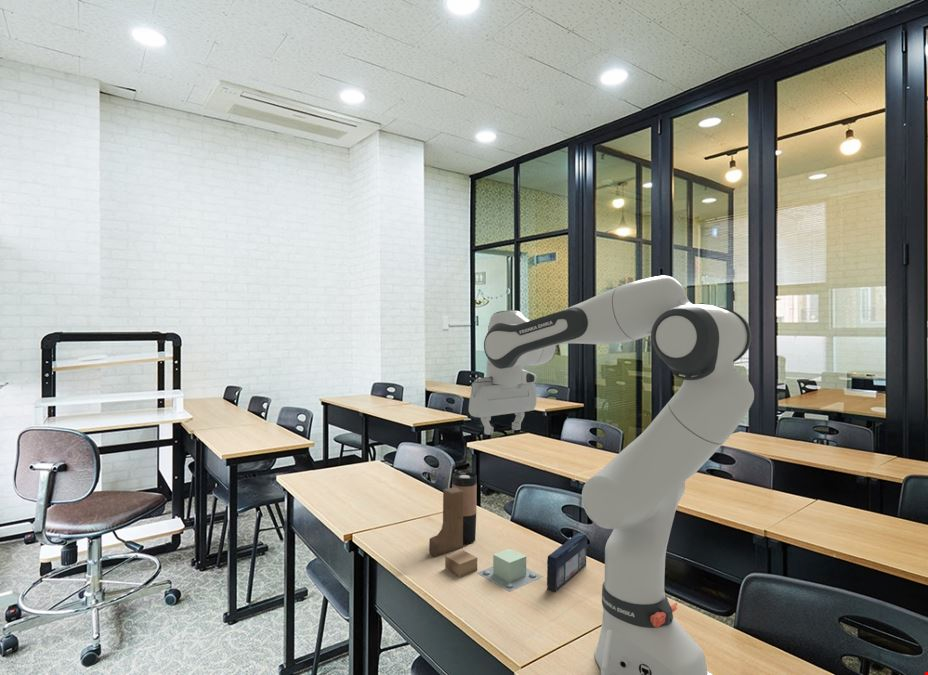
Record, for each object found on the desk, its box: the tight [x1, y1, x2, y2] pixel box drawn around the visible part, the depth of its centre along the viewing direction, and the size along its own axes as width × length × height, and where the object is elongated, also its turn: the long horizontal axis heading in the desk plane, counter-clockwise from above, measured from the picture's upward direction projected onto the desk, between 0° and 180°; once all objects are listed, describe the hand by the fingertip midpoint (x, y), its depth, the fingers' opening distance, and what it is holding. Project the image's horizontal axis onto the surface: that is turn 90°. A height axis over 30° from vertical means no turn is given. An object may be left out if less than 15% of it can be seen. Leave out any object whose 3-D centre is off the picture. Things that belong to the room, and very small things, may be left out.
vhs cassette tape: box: [546, 532, 588, 593], centre depth 129 cm, size 18×3×10 cm, turn 141°
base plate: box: [477, 566, 544, 592], centre depth 130 cm, size 12×12×2 cm
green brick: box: [492, 548, 527, 583], centre depth 130 cm, size 6×6×5 cm
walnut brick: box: [444, 549, 478, 578], centre depth 132 cm, size 6×6×5 cm
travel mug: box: [451, 471, 478, 545], centre depth 155 cm, size 8×8×20 cm
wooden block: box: [428, 487, 464, 558], centre depth 145 cm, size 9×4×18 cm, turn 124°
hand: (502, 431), depth 124 cm, fingers open, 8 cm apart
